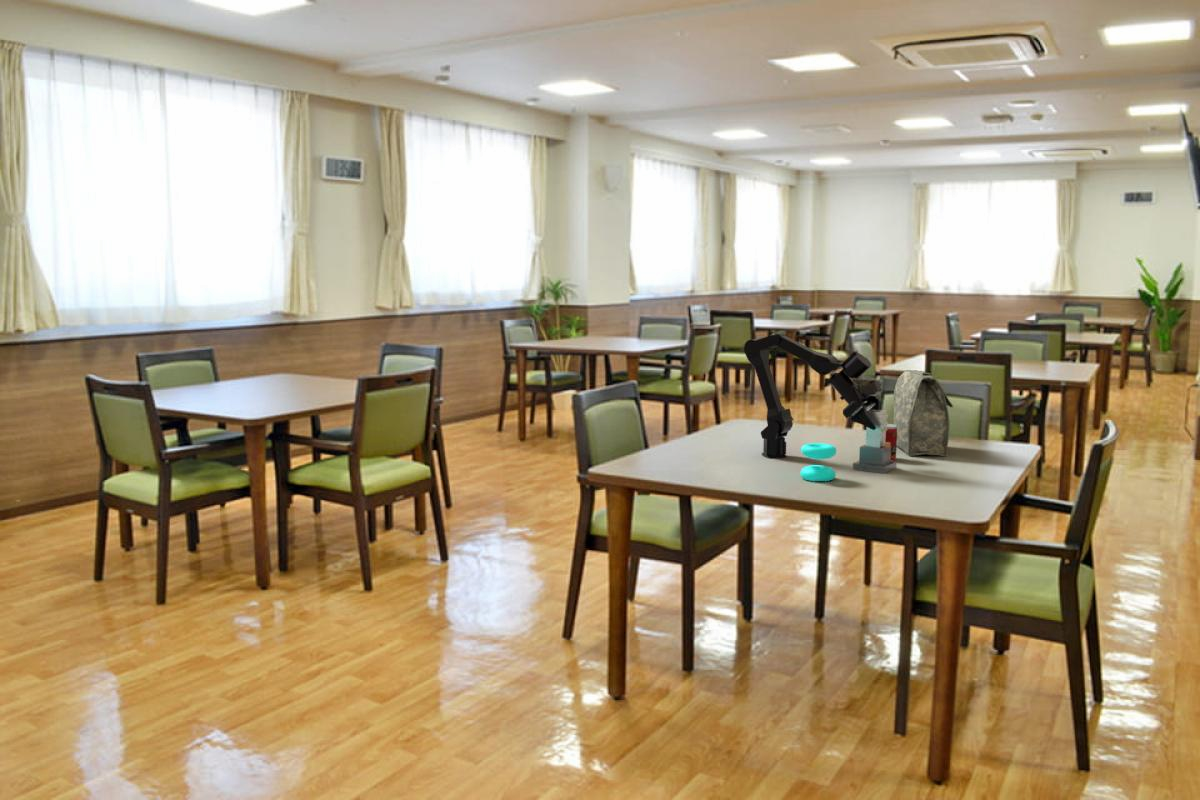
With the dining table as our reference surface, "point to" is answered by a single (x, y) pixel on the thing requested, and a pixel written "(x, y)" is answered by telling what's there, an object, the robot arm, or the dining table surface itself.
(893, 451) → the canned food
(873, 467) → the stand base
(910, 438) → the bag
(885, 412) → the column
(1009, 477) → the dining table surface
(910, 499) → the dining table surface
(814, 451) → the donuts
